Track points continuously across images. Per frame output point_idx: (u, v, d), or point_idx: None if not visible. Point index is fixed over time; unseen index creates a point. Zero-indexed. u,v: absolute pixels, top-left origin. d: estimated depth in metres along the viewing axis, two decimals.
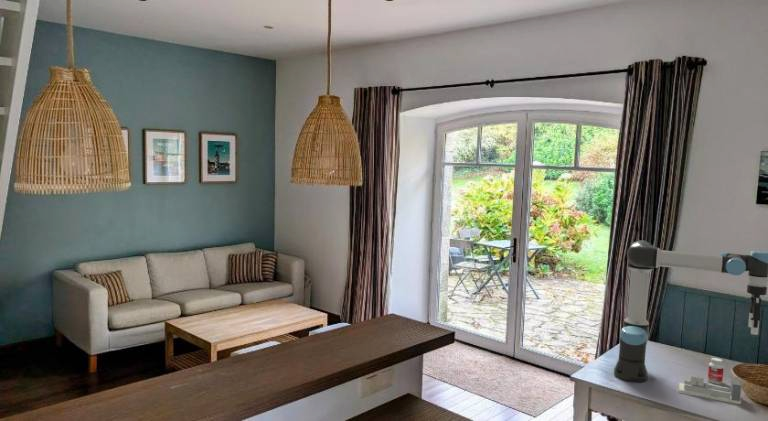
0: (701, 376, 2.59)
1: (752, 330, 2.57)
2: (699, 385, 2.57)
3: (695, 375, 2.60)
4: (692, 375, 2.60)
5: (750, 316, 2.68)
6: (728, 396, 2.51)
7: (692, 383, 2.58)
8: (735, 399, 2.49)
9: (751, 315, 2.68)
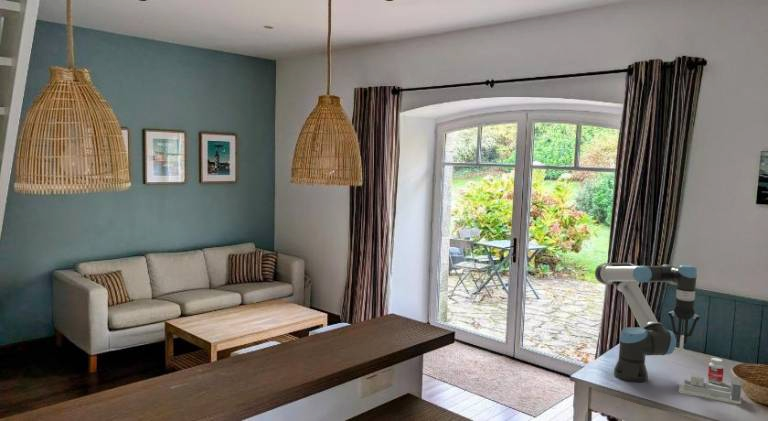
0: (701, 376, 2.59)
1: None
2: (699, 385, 2.57)
3: (695, 375, 2.60)
4: (692, 375, 2.60)
5: None
6: (728, 396, 2.51)
7: (692, 383, 2.58)
8: (735, 399, 2.49)
9: None
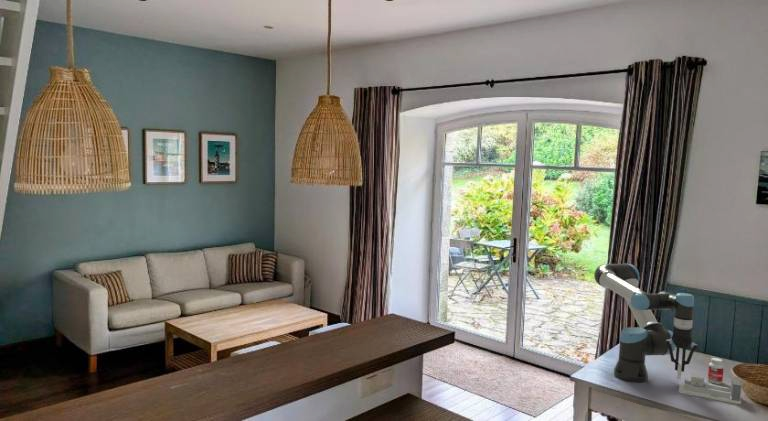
0: (701, 376, 2.59)
1: None
2: (699, 385, 2.57)
3: (695, 375, 2.60)
4: (692, 375, 2.60)
5: None
6: (728, 396, 2.51)
7: (692, 383, 2.58)
8: (735, 399, 2.49)
9: None
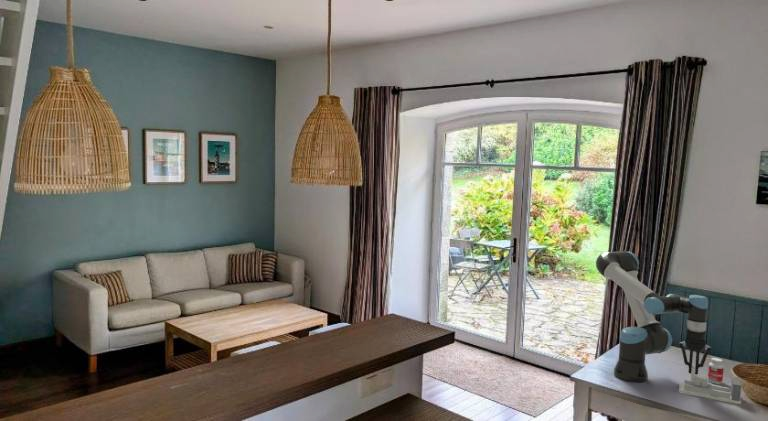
0: (705, 377, 2.58)
1: None
2: (703, 386, 2.56)
3: (699, 376, 2.59)
4: (695, 376, 2.59)
5: None
6: (728, 396, 2.51)
7: (696, 384, 2.58)
8: (735, 399, 2.49)
9: None
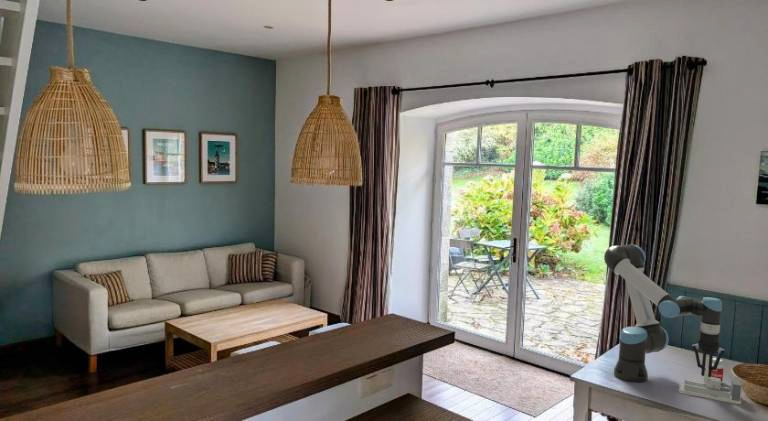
0: (718, 379, 2.56)
1: None
2: (716, 388, 2.54)
3: (711, 378, 2.57)
4: (708, 378, 2.57)
5: None
6: (728, 396, 2.51)
7: (709, 386, 2.55)
8: (735, 399, 2.49)
9: None
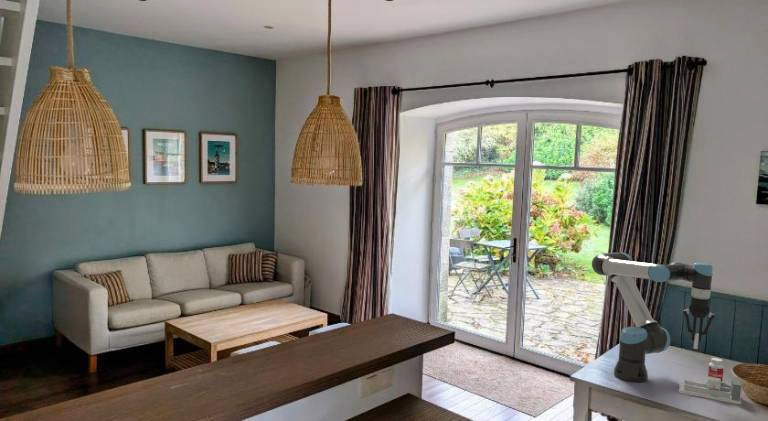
0: (718, 379, 2.56)
1: None
2: (716, 388, 2.54)
3: (711, 378, 2.57)
4: (708, 378, 2.57)
5: None
6: (728, 396, 2.51)
7: (709, 386, 2.55)
8: (735, 399, 2.49)
9: None
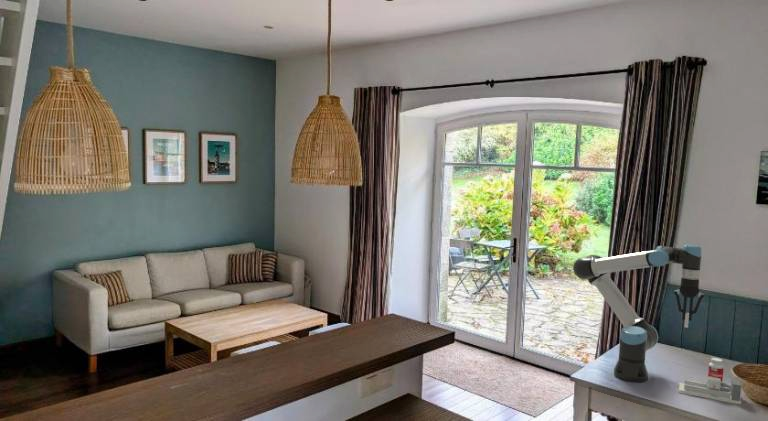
0: (718, 379, 2.56)
1: None
2: (716, 388, 2.54)
3: (711, 378, 2.57)
4: (708, 378, 2.57)
5: None
6: (728, 396, 2.51)
7: (709, 386, 2.55)
8: (735, 399, 2.49)
9: None
